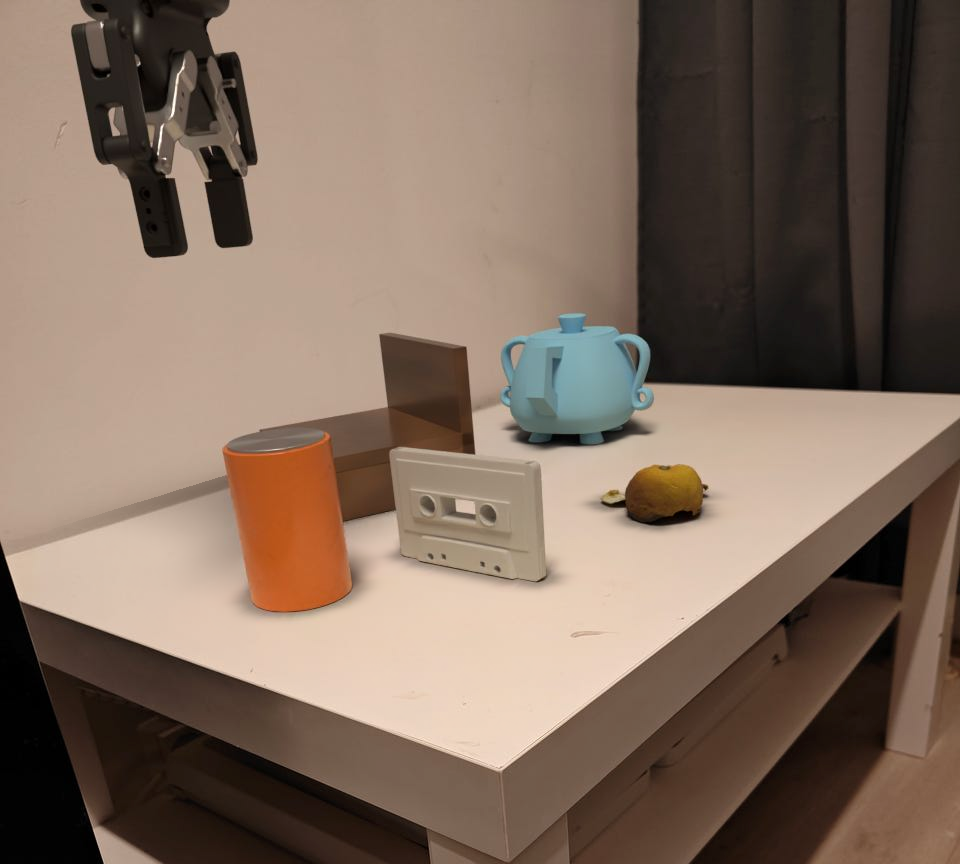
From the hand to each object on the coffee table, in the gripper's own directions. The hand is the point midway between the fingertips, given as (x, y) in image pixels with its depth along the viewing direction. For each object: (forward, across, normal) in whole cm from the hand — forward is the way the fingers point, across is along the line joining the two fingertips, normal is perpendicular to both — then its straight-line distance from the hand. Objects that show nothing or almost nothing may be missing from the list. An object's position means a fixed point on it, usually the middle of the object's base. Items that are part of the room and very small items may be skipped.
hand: (203, 251), depth 54 cm
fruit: (+21, -17, +26) cm, 38 cm away
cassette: (+21, -4, +13) cm, 25 cm away
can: (+21, 0, +3) cm, 21 cm away
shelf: (+21, -24, 0) cm, 32 cm away
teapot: (+21, -43, +16) cm, 51 cm away
